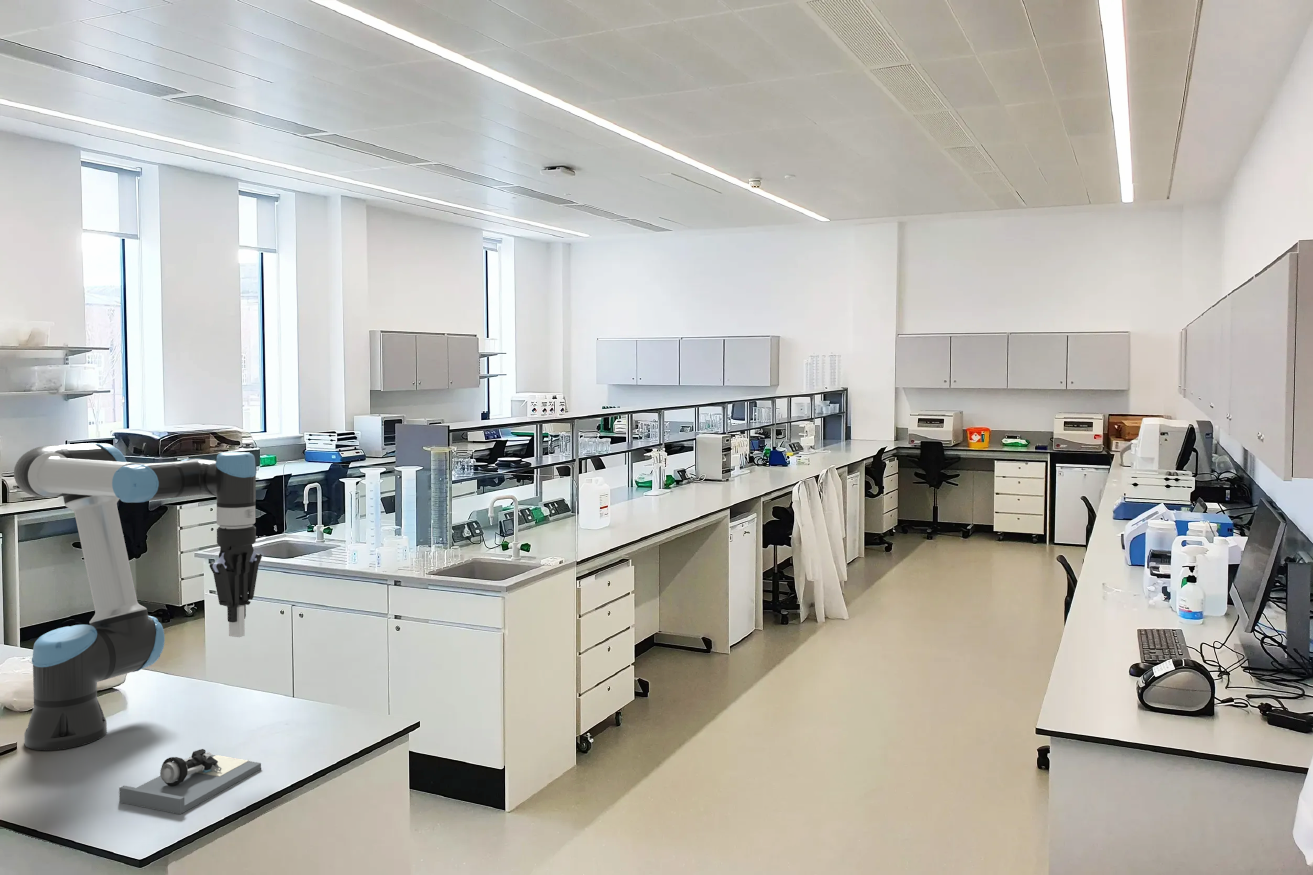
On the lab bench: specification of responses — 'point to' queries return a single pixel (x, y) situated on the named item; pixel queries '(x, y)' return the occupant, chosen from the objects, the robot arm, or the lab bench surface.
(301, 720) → the lab bench surface
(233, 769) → the grey lipped board
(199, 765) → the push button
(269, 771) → the lab bench surface
